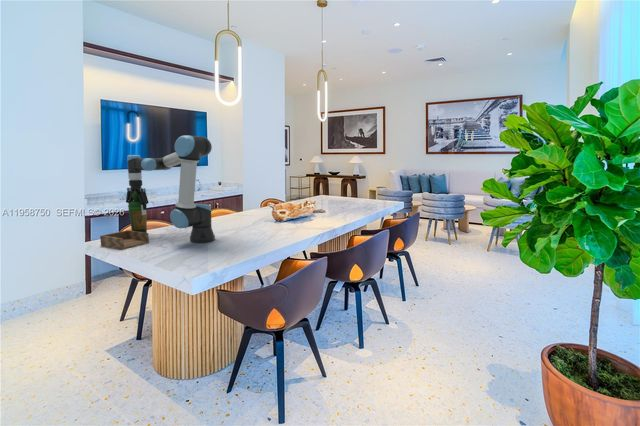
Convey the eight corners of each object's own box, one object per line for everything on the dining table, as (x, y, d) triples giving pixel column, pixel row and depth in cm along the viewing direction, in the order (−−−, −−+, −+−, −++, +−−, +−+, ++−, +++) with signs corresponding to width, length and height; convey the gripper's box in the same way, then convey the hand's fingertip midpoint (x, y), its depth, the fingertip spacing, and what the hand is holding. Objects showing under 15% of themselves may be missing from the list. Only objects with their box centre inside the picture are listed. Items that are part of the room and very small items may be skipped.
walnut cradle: (148, 243, 222) (148, 233, 221) (122, 249, 206) (121, 239, 205) (128, 239, 230) (127, 230, 229) (101, 246, 213) (100, 235, 212)
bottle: (141, 235, 230) (137, 191, 226) (126, 235, 232) (122, 191, 228) (152, 232, 240) (149, 190, 236) (137, 231, 242) (134, 189, 238)
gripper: (153, 179, 230) (155, 214, 233) (128, 178, 239) (130, 212, 242) (143, 180, 223) (145, 216, 226) (117, 179, 232) (120, 213, 236)
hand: (138, 214), depth 234 cm, fingers closed on bottle, 10 cm apart
